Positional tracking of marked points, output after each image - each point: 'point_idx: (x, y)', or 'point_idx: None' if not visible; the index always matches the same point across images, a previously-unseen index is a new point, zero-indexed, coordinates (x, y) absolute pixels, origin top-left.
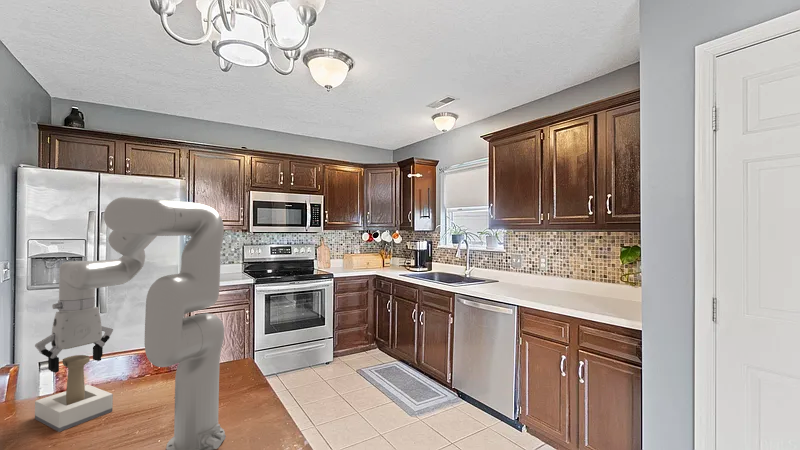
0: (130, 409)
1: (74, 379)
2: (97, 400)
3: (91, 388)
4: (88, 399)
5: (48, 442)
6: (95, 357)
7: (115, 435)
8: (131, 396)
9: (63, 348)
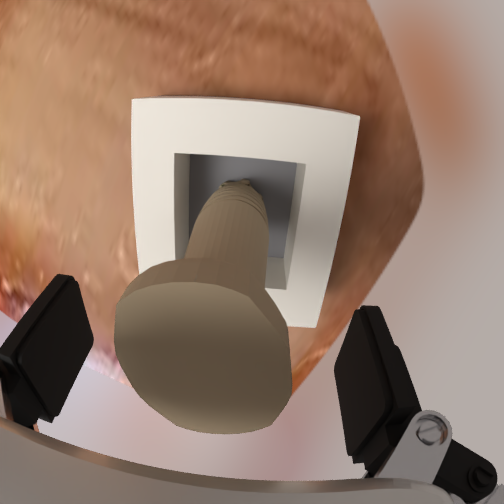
0: (122, 54)
1: (248, 245)
2: (200, 98)
3: (151, 257)
4: (220, 137)
5: (391, 71)
6: (76, 325)
7: None
8: (69, 170)
9: (419, 486)
